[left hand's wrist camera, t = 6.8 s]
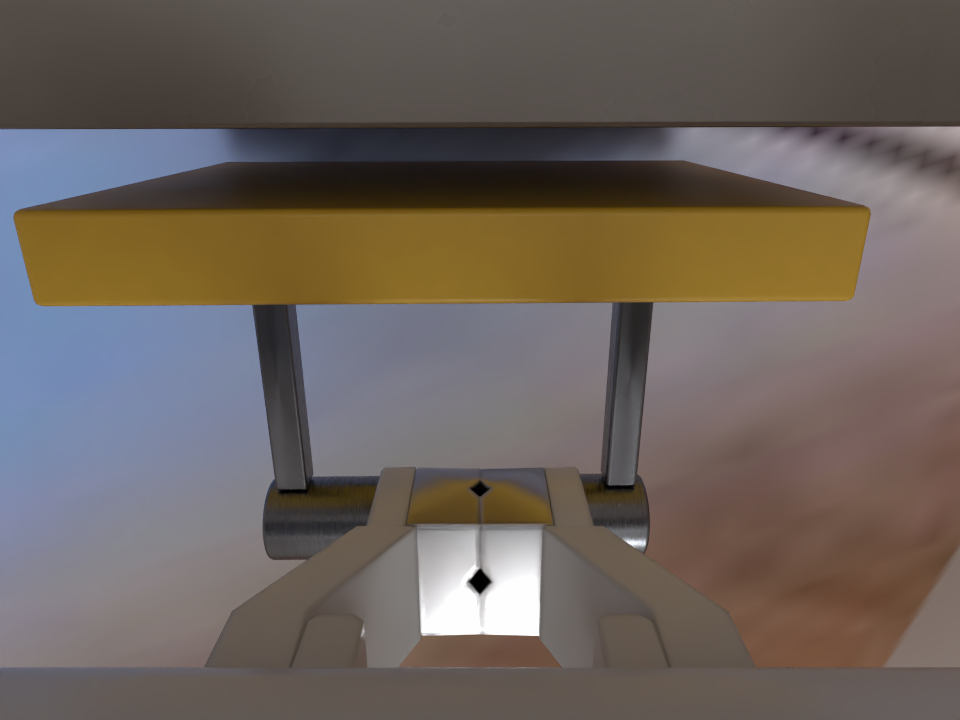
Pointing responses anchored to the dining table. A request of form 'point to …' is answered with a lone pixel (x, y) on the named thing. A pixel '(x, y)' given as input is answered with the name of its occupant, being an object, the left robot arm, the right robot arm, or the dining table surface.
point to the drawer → (441, 274)
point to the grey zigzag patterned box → (478, 63)
